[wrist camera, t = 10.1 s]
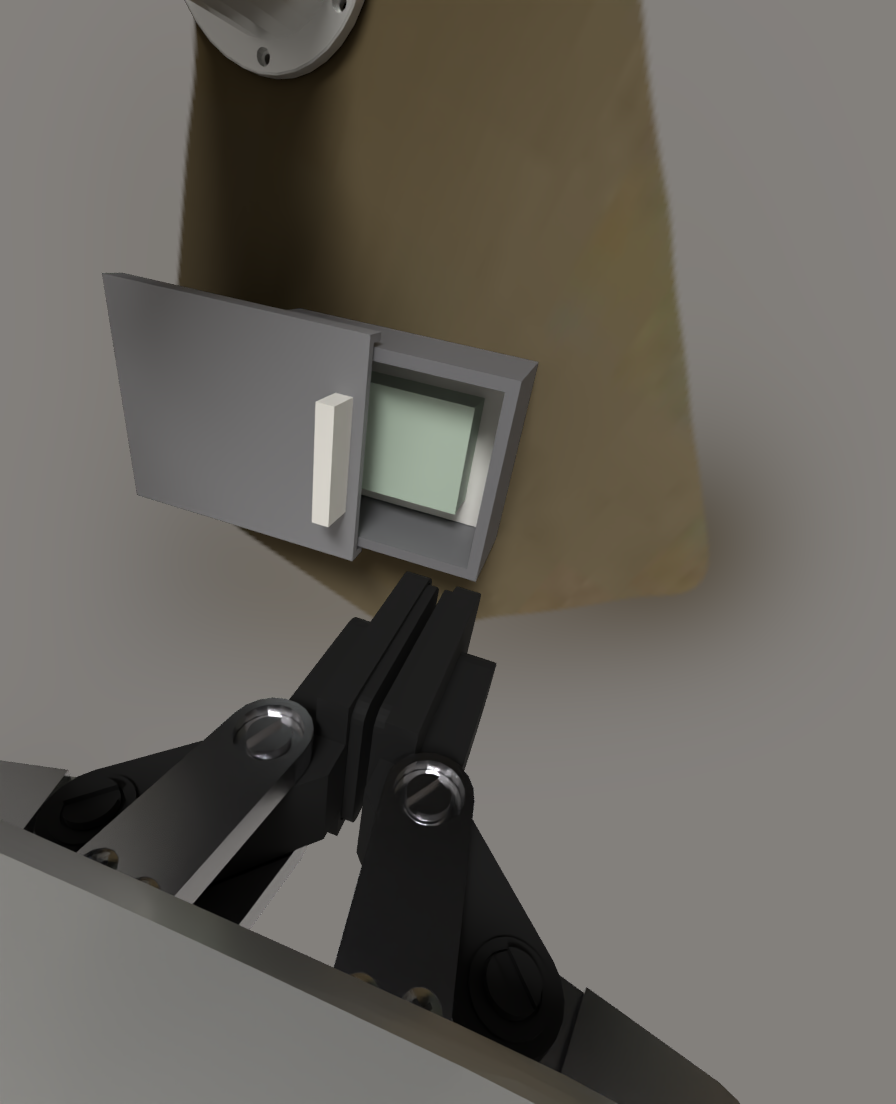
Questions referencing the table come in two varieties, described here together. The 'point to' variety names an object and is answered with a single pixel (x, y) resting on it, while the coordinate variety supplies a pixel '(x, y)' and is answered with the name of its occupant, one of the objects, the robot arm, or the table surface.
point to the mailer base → (512, 416)
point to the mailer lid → (244, 410)
